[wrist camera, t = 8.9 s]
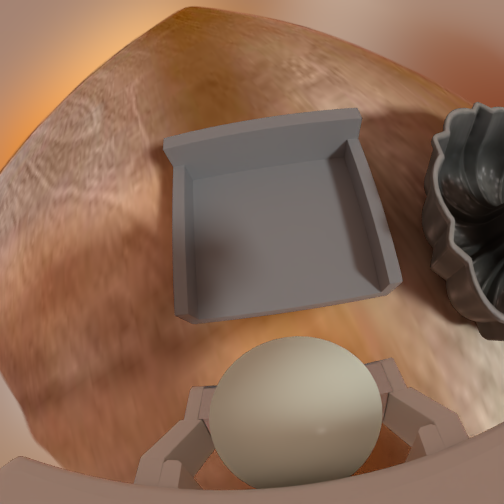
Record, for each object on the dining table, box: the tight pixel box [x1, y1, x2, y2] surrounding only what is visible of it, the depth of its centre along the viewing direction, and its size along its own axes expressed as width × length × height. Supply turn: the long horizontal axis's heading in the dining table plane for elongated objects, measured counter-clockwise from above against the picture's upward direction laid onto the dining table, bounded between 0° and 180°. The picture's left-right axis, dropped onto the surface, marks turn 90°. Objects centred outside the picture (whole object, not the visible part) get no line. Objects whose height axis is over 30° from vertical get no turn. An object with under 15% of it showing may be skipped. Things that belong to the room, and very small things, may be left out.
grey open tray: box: [163, 108, 403, 324], centre depth 28 cm, size 16×19×8 cm
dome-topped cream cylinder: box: [209, 336, 382, 489], centre depth 11 cm, size 4×4×8 cm
